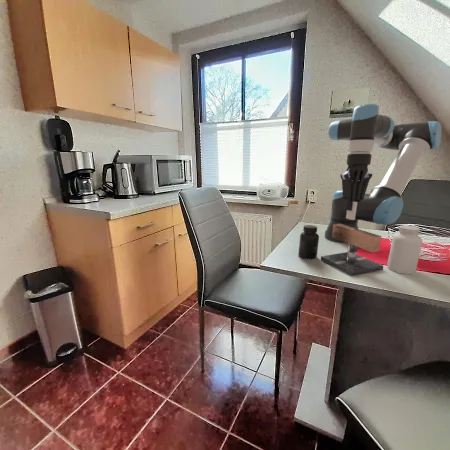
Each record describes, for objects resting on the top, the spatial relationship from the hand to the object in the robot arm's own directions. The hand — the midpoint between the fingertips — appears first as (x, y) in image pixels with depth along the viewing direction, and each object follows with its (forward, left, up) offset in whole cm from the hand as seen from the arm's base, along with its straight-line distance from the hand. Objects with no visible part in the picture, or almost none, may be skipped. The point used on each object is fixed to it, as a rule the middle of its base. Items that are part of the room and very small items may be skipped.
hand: (350, 218), depth 92 cm
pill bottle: (-8, +16, -15) cm, 23 cm away
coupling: (+5, +7, -9) cm, 13 cm away
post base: (+5, +7, -15) cm, 17 cm away
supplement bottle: (+14, -4, -15) cm, 21 cm away
